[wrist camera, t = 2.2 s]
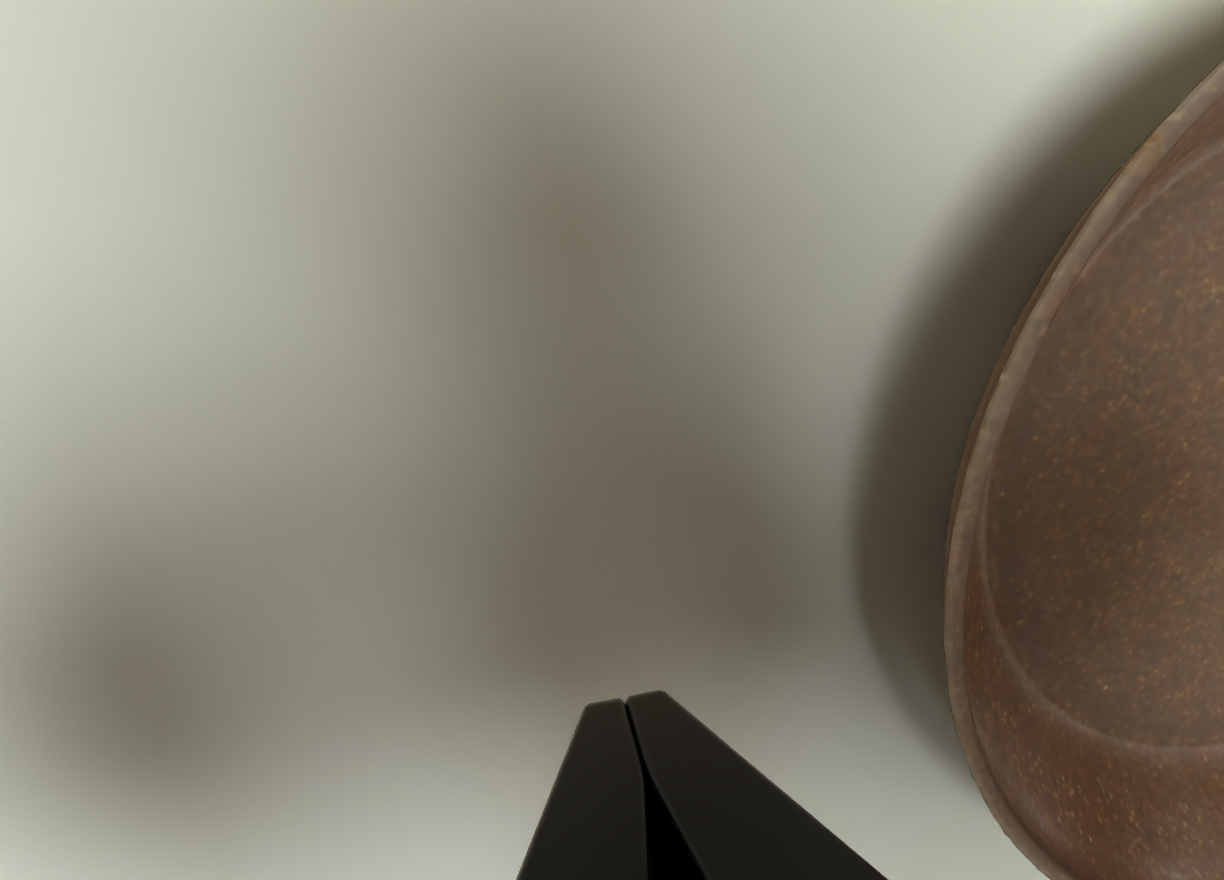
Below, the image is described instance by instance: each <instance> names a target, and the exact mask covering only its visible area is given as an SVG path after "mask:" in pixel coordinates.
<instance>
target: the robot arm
mask: <svg viewBox="0 0 1224 880" xmlns="http://www.w3.org/2000/svg"><path fill="white" fill-rule="evenodd" d="M516 880H888V879H887V878H886V877H884V876H883V875H882V874H881V873H880V872H878V871H877V870H876V869H875V868H874V867H872V866H871V865H870V864H869V863H868V862H867V861H865V860H864V859H863V858H862V857H861V856H859V855H858V854H857V853H856V852H855V851H853V850H852V849H851V848H850V847H849V846H848V845H846V844H845V843H844V842H843V841H842V840H840V839H839V838H838V837H837V836H836V835H834V834H833V833H832V832H831V831H830V830H829V829H827V828H826V827H825V826H824V825H823V824H821V823H820V822H819V821H818V820H817V819H815V818H814V817H813V816H812V815H811V814H810V813H808V812H807V811H806V810H805V809H804V808H802V807H801V806H800V805H799V804H798V803H796V802H795V801H794V800H793V799H792V798H790V797H789V796H788V795H787V794H786V793H785V792H783V791H782V790H781V789H780V788H779V787H777V786H776V785H775V784H774V783H773V782H771V781H770V780H769V779H768V778H767V777H766V776H764V775H763V774H762V773H761V772H760V771H758V770H757V769H756V768H755V767H754V766H752V765H751V764H750V763H749V762H748V761H747V760H745V759H744V758H743V757H742V756H741V755H739V754H738V753H737V752H736V751H735V750H733V749H732V748H731V747H730V746H729V745H727V744H726V743H725V742H724V741H723V740H722V739H720V738H719V737H718V736H717V735H716V734H714V733H713V732H712V731H711V730H710V729H708V728H707V727H706V726H705V725H704V724H703V723H701V722H700V721H699V720H698V719H697V718H695V717H694V716H693V715H692V714H691V713H689V712H688V711H687V710H686V709H685V708H684V707H682V706H681V705H680V704H679V703H678V702H676V701H675V700H674V699H673V698H672V697H670V696H669V695H668V694H667V693H666V692H664V691H661V690H656V691H651V692H646V693H641V694H636V695H631V696H629V697H628V698H627V699H626V701H625V703H624V702H623V700H621V699H619V698H616V699H611V700H606V701H601V702H596V703H591V704H588V705H587V706H585V708H584V709H583V711H582V714H581V716H580V719H579V722H578V724H577V727H576V729H575V732H574V734H573V737H572V739H571V742H570V744H569V747H568V749H567V752H566V754H565V757H564V760H563V762H562V765H561V767H560V770H559V772H558V775H557V777H556V780H555V782H554V785H553V787H552V790H551V792H550V795H549V798H548V800H547V803H546V805H545V808H544V810H543V813H542V815H541V818H540V820H539V823H538V825H537V828H536V830H535V833H534V836H533V838H532V841H531V843H530V846H529V848H528V851H527V853H526V856H525V858H524V861H523V863H522V866H521V869H520V871H519V874H518V876H517V879H516Z"/></svg>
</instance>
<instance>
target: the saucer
mask: <svg viewBox="0 0 1224 880" xmlns="http://www.w3.org/2000/svg"><path fill="white" fill-rule="evenodd" d="M943 624H944V649H945V661H946V672H947V683H948V692H949V696H950V701H951V706H952V713H953V719H954V723H955V727H956V731H957V735H958V739H959V741H960V744H961V747H962V750H963V753H964V755H965V758H966V760H967V762H968V765H969V767H970V770H971V773H972V776H973V779H974V781H975V783H976V784H977V786H978V788H979V790H980V792H981V794H982V797H983V799H984V801H985V803H986V804H987V806H988V808H989V809H990V811H991V813H992V814H993V816H994V818H995V819H996V821H997V822H998V824H999V825H1000V827H1001V828H1002V830H1003V832H1004V833H1005V835H1006V836H1008V837H1009V838H1010V840H1011V841H1012V842H1013V844H1014V845H1015V846H1016V848H1017V849H1018V850H1019V851H1020V852H1021V853H1022V854H1023V855H1024V856H1025V857H1026V858H1027V859H1028V860H1029V861H1030V862H1031V863H1032V864H1033V865H1034V866H1035V867H1036V868H1037V869H1038V870H1040V871H1041V872H1042V873H1043V874H1045V875H1046V876H1047V877H1048V878H1049V879H1051V880H1224V60H1223V61H1222V62H1221V63H1220V64H1219V65H1218V66H1217V67H1216V68H1215V69H1214V70H1213V71H1212V72H1211V73H1210V74H1209V75H1208V76H1207V77H1206V78H1205V79H1204V80H1203V81H1202V82H1200V83H1199V84H1198V85H1197V86H1196V87H1195V88H1194V89H1193V90H1192V92H1191V93H1190V94H1189V95H1188V96H1187V97H1186V98H1185V99H1184V100H1183V101H1182V102H1181V103H1180V104H1179V105H1178V106H1177V107H1176V108H1175V109H1174V110H1173V111H1172V112H1171V113H1170V114H1169V115H1168V116H1167V117H1166V118H1165V119H1164V120H1163V121H1162V122H1161V123H1160V124H1159V125H1158V126H1157V127H1156V128H1155V129H1154V130H1153V132H1152V133H1151V134H1150V135H1149V136H1148V137H1147V138H1146V140H1145V141H1144V142H1143V143H1142V144H1141V145H1140V146H1139V147H1138V149H1137V150H1136V151H1135V152H1134V153H1133V154H1132V155H1131V157H1130V158H1129V159H1128V160H1127V161H1126V162H1125V163H1124V165H1123V166H1122V167H1121V168H1120V169H1119V170H1118V171H1117V173H1116V174H1115V175H1114V176H1113V177H1112V178H1111V180H1110V181H1109V182H1108V184H1107V185H1106V186H1105V187H1104V189H1103V190H1102V191H1101V193H1100V194H1099V195H1098V196H1097V198H1096V199H1095V200H1094V202H1093V203H1092V204H1091V206H1090V207H1089V208H1088V209H1087V211H1086V212H1085V213H1084V215H1083V216H1082V217H1081V219H1080V220H1079V221H1078V222H1077V224H1076V225H1075V226H1074V228H1073V229H1072V231H1071V232H1070V234H1069V235H1068V237H1067V239H1066V240H1065V242H1064V243H1063V245H1062V246H1061V248H1060V249H1059V251H1058V252H1057V254H1056V256H1055V257H1054V259H1053V260H1052V262H1051V263H1050V265H1049V266H1048V268H1047V269H1046V271H1045V273H1044V274H1043V276H1042V278H1041V279H1040V281H1039V283H1038V285H1037V286H1036V288H1035V290H1034V292H1033V293H1032V295H1031V297H1030V298H1029V300H1028V302H1027V304H1026V305H1025V307H1024V309H1023V311H1022V312H1021V314H1020V316H1019V317H1018V319H1017V321H1016V323H1015V325H1014V327H1013V329H1012V331H1011V333H1010V335H1009V337H1008V339H1007V341H1006V343H1005V345H1004V347H1003V349H1002V351H1001V353H1000V355H999V357H998V359H997V361H996V363H995V366H994V368H993V370H992V373H991V375H990V378H989V380H988V383H987V386H986V388H985V391H984V393H983V396H982V398H981V401H980V404H979V406H978V409H977V411H976V414H975V417H974V419H973V422H972V424H971V427H970V430H969V434H968V437H967V441H966V445H965V448H964V452H963V455H962V459H961V462H960V466H959V469H958V473H957V478H956V483H955V488H954V492H953V498H952V504H951V509H950V515H949V521H948V530H947V541H946V551H945V561H944V586H943Z"/></svg>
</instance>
